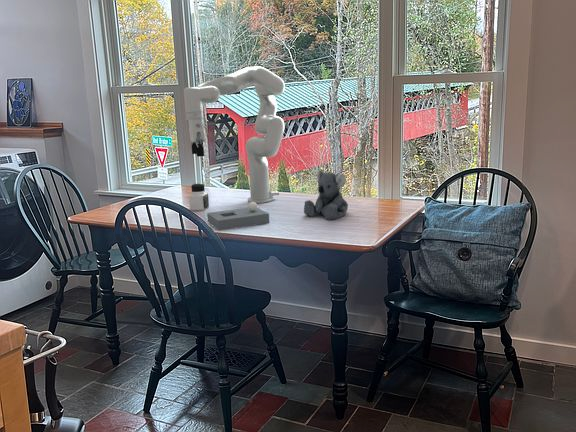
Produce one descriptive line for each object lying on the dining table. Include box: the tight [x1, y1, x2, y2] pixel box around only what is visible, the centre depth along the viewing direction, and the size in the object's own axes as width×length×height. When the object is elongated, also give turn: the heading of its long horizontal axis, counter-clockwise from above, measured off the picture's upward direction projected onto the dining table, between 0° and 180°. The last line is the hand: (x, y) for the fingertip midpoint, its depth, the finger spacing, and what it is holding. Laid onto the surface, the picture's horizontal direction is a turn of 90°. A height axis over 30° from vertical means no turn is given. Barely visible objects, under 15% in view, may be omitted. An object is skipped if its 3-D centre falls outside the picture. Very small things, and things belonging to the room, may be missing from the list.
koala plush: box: [303, 169, 349, 221], centre depth 247 cm, size 17×18×20 cm
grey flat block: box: [206, 207, 270, 231], centre depth 242 cm, size 22×16×4 cm
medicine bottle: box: [188, 182, 210, 211], centre depth 271 cm, size 7×7×12 cm
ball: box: [247, 202, 258, 211], centre depth 244 cm, size 4×4×4 cm
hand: (198, 154), depth 254 cm, fingers open, 9 cm apart
